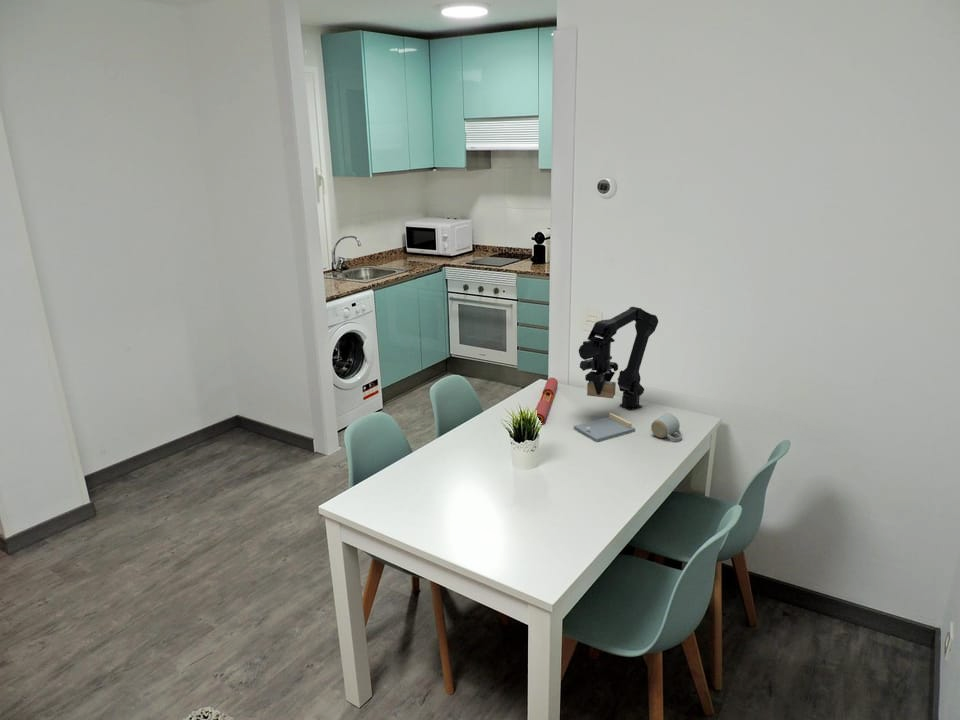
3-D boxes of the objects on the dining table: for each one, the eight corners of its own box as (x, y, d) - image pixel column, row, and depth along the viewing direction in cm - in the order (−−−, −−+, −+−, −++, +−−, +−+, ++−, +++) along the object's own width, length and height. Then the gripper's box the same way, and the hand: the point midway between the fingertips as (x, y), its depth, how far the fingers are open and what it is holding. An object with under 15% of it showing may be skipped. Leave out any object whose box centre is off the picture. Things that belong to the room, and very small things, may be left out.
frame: (590, 391, 262) (590, 378, 260) (615, 394, 258) (615, 381, 257) (587, 395, 258) (587, 382, 256) (612, 398, 254) (613, 385, 252)
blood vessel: (546, 387, 296) (546, 377, 294) (557, 388, 295) (557, 377, 293) (532, 424, 257) (532, 412, 255) (545, 425, 256) (545, 413, 254)
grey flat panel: (611, 418, 259) (611, 411, 258) (635, 431, 247) (635, 423, 246) (573, 428, 251) (574, 421, 250) (596, 442, 239) (596, 434, 238)
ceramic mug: (648, 435, 243) (650, 416, 241) (661, 429, 249) (663, 410, 246) (673, 444, 236) (675, 425, 233) (686, 438, 241) (688, 418, 238)
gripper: (593, 345, 264) (591, 382, 269) (573, 357, 250) (572, 396, 254) (619, 349, 259) (617, 386, 263) (600, 362, 244) (599, 401, 249)
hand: (601, 392), depth 258 cm, fingers closed on frame, 5 cm apart
